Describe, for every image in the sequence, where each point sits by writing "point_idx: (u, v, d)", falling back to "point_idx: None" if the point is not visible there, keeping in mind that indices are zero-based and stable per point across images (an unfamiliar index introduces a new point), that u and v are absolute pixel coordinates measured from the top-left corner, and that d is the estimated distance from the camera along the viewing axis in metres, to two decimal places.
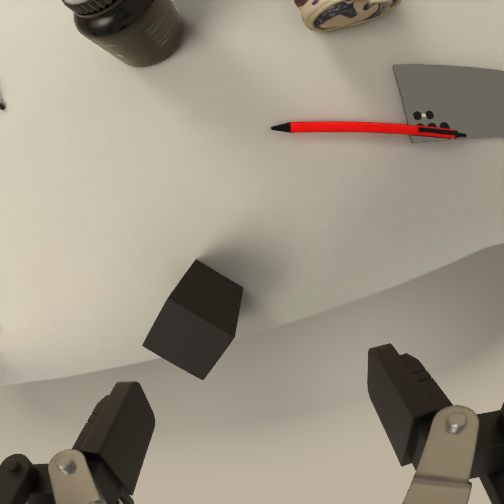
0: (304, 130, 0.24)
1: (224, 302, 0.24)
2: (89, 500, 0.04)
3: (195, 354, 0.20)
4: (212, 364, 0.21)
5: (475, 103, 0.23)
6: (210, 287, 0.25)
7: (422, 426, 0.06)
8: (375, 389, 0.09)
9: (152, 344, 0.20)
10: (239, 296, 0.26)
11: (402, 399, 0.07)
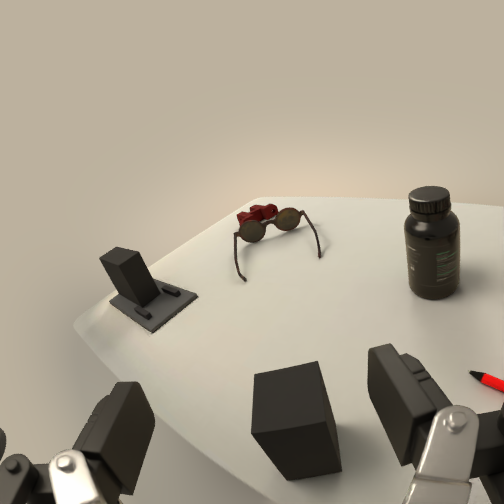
0: (491, 382, 0.19)
1: (332, 433, 0.18)
2: (89, 500, 0.04)
3: (279, 409, 0.17)
4: (278, 428, 0.16)
5: None
6: (332, 424, 0.20)
7: (422, 426, 0.06)
8: (375, 389, 0.09)
9: (262, 378, 0.20)
10: (338, 459, 0.18)
11: (402, 399, 0.07)
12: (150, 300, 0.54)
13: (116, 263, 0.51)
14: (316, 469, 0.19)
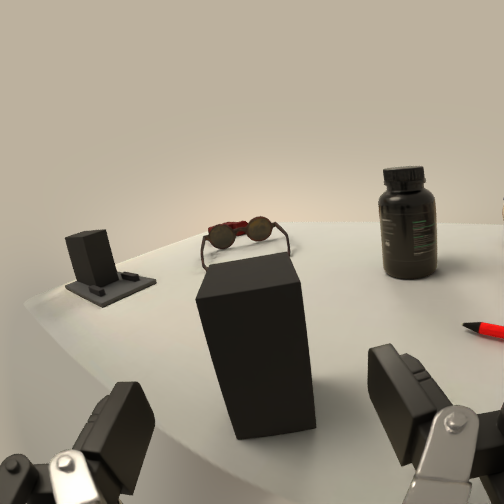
0: (492, 329, 0.17)
1: None
2: (89, 500, 0.04)
3: (237, 280, 0.15)
4: (234, 291, 0.13)
5: None
6: None
7: (422, 426, 0.06)
8: (375, 389, 0.09)
9: (219, 265, 0.17)
10: None
11: (402, 399, 0.07)
12: (107, 283, 0.49)
13: (81, 236, 0.46)
14: (280, 415, 0.15)
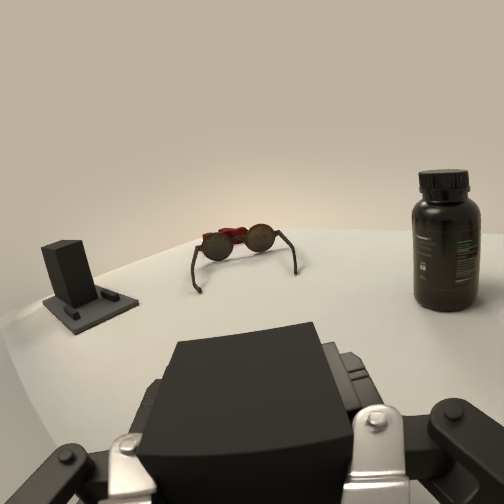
0: None
1: None
2: (145, 490, 0.05)
3: (220, 407, 0.07)
4: (211, 450, 0.05)
5: None
6: None
7: None
8: None
9: (192, 348, 0.09)
10: None
11: None
12: (84, 302, 0.41)
13: (54, 248, 0.38)
14: None
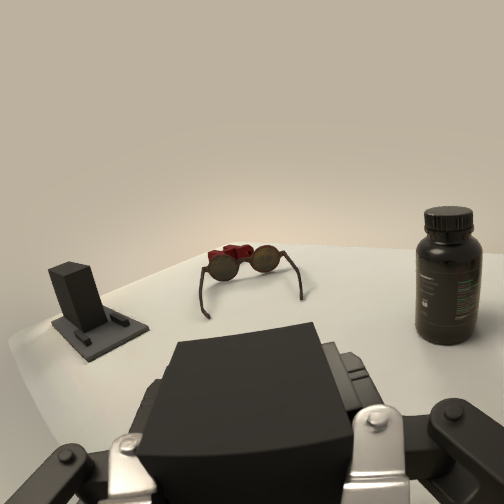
0: None
1: None
2: (145, 490, 0.05)
3: (220, 407, 0.07)
4: (211, 450, 0.05)
5: None
6: None
7: None
8: None
9: (192, 349, 0.09)
10: None
11: None
12: (94, 326, 0.42)
13: (62, 274, 0.39)
14: None
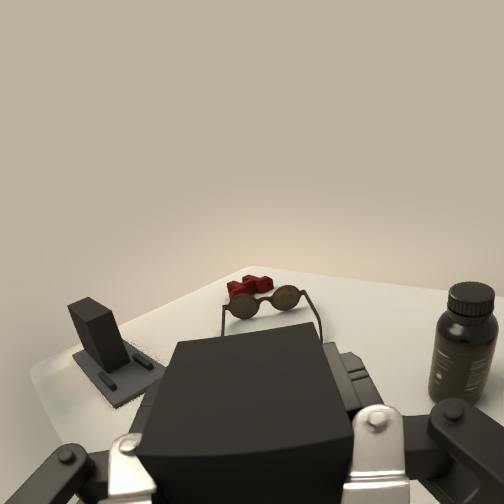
0: None
1: None
2: (145, 490, 0.05)
3: (220, 407, 0.07)
4: (211, 450, 0.05)
5: None
6: None
7: None
8: None
9: (193, 348, 0.09)
10: None
11: None
12: (117, 367, 0.43)
13: (84, 318, 0.40)
14: None
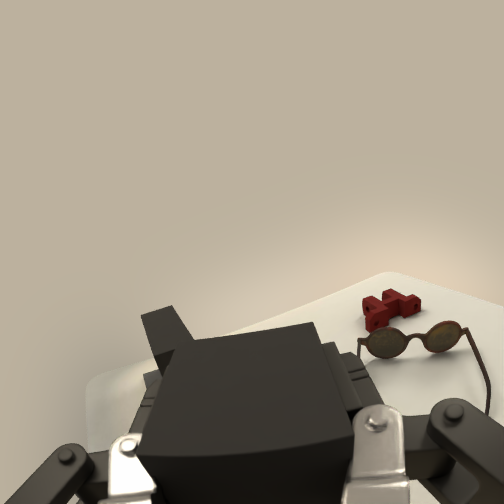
0: None
1: None
2: (145, 490, 0.05)
3: (220, 407, 0.07)
4: (211, 450, 0.05)
5: None
6: None
7: None
8: None
9: (192, 349, 0.09)
10: None
11: None
12: None
13: (153, 347, 0.30)
14: None
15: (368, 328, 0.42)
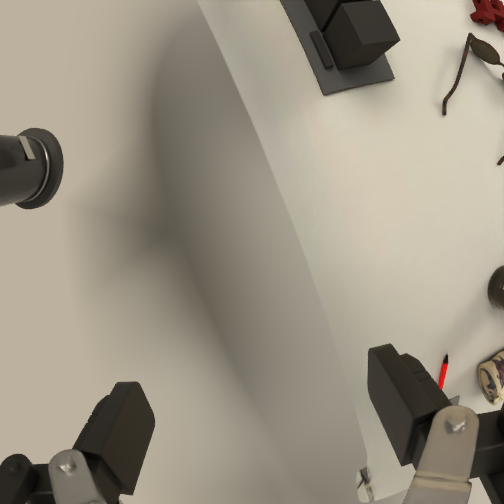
0: (443, 369, 0.42)
1: None
2: (89, 500, 0.04)
3: (371, 29, 0.22)
4: (376, 41, 0.23)
5: None
6: None
7: (422, 426, 0.06)
8: (375, 389, 0.09)
9: (349, 7, 0.22)
10: None
11: (402, 399, 0.07)
12: None
13: None
14: (361, 63, 0.30)
15: (473, 17, 0.28)
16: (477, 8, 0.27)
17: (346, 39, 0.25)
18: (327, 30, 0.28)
